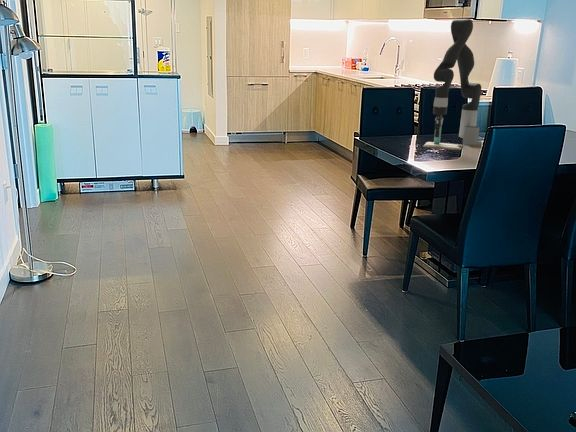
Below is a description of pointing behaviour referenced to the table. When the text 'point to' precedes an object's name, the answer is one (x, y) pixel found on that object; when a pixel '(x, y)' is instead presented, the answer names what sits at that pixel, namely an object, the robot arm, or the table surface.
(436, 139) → the marker
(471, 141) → the cup
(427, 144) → the clipboard
